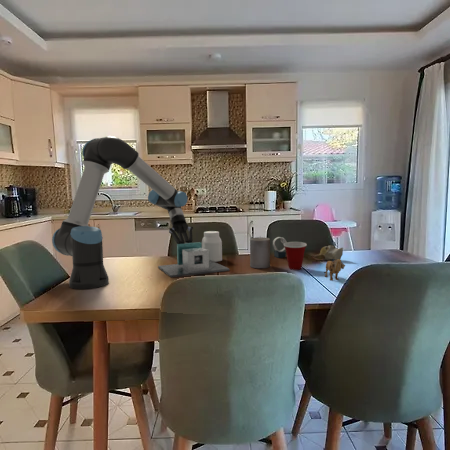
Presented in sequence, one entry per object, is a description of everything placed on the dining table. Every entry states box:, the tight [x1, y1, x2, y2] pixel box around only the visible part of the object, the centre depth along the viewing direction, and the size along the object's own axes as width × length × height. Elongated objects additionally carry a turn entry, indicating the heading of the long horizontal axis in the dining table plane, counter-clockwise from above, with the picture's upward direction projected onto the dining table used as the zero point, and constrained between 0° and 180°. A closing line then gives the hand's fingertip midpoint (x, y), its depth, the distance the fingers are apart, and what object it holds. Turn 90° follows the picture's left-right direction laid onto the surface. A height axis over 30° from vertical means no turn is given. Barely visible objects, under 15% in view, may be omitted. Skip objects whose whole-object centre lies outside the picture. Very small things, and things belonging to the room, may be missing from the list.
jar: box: [201, 230, 223, 263], centre depth 196 cm, size 12×10×15 cm
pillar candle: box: [249, 236, 271, 269], centre depth 178 cm, size 10×10×15 cm
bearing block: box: [157, 248, 230, 279], centre depth 174 cm, size 28×22×10 cm
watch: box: [272, 236, 287, 259], centre depth 202 cm, size 6×8×11 cm
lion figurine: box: [323, 259, 346, 281], centre depth 154 cm, size 15×5×9 cm, turn 10°
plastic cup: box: [283, 241, 308, 271], centre depth 172 cm, size 11×11×12 cm
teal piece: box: [176, 241, 202, 265], centre depth 173 cm, size 12×12×10 cm
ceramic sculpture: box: [311, 243, 344, 261], centre depth 191 cm, size 11×9×15 cm
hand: (188, 254), depth 180 cm, fingers closed
